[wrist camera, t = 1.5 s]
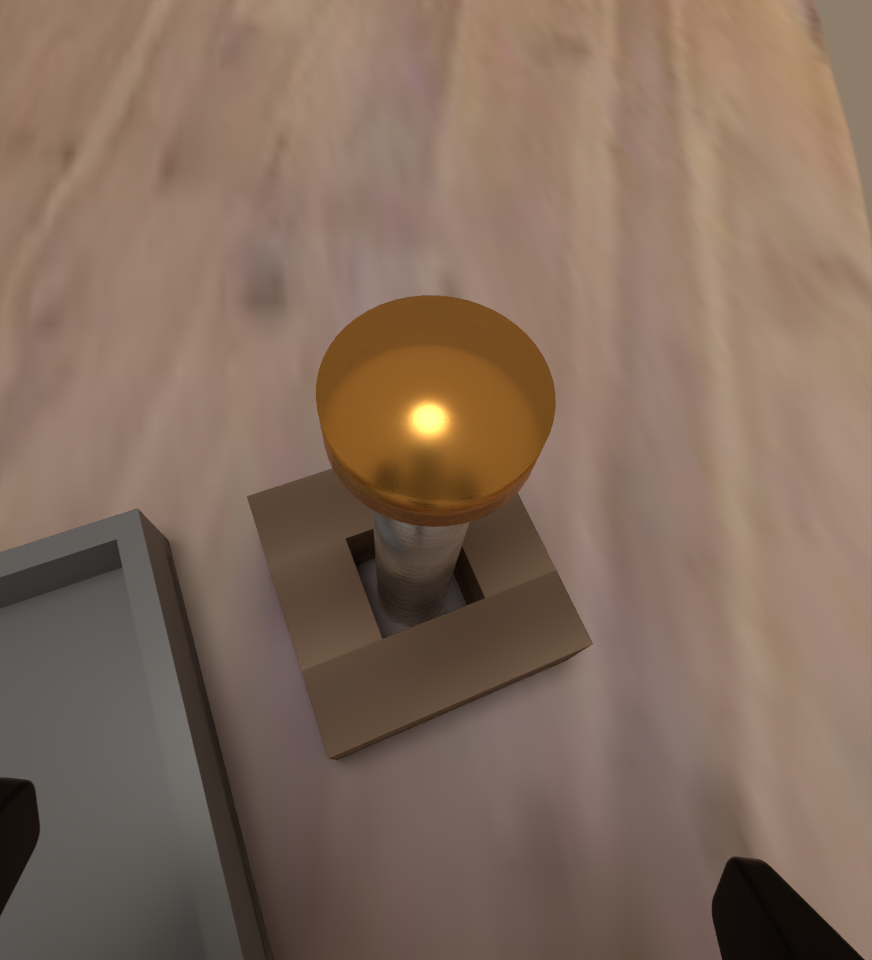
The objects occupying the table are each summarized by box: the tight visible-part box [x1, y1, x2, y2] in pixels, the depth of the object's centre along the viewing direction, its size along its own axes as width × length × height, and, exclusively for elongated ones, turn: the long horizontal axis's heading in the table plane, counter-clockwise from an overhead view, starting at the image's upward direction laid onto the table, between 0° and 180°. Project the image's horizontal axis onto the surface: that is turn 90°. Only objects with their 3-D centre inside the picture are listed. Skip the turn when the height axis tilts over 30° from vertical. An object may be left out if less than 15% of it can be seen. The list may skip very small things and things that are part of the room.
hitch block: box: [247, 469, 593, 760], centre depth 21 cm, size 8×8×3 cm
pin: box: [316, 296, 555, 626], centre depth 16 cm, size 4×4×13 cm
